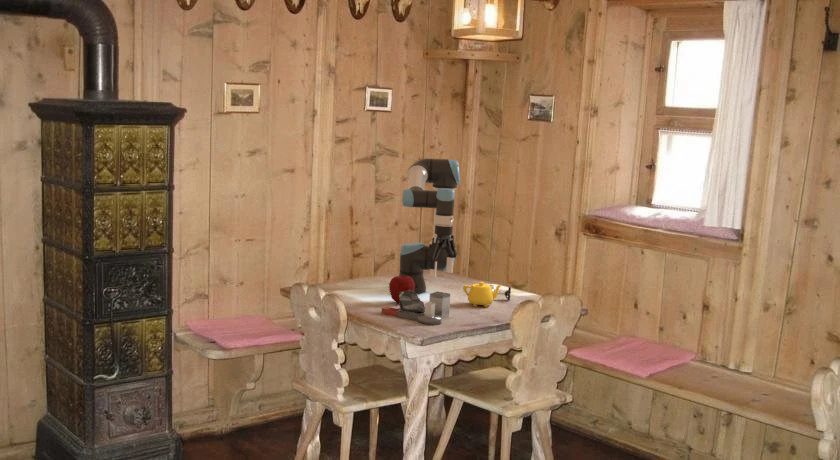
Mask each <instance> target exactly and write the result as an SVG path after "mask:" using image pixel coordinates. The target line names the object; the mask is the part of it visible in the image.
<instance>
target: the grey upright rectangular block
mask: <svg viewBox="0 0 840 460" xmlns="http://www.w3.org/2000/svg"><path fill="white" fill-rule="evenodd" d="M428 300H429V301H428V302H431V303H435V314H437V315H440V316H441V317H442V319H441V320H444V319H446V318H449V317H450V310H451V309H450V307H451V306H450V305H451V293H447V292H442V291H435V292H431V293H429V299H428Z"/></svg>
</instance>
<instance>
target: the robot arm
mask: <svg viewBox="0 0 840 460" xmlns="http://www.w3.org/2000/svg"><path fill="white" fill-rule="evenodd" d="M406 177H407V180H408V184H407V189H406V188H405V189H403V190H402V199H401V203H402V206H403V207H407V208H422V209H424V208H428V209H434V212H433V227H432V228H433V230H432V239H431V241H429V244H428V245H426V244H425V242H421V241H420V242H419V241H418V242H417V241H415V242H408V243H404V244H402V245H401V247H400V251H399V252H400V253H399V271H398V272H399V275H398V276H410V277H411V278H412V279H413V280H414V282H415V288H414V291H415V292H416V294H423V293H425V292H427V284H426V280H425V277H424V271H429V277H432V278H437V271H439V272H440V271H441V272H446V273H448V274H453V272H454V271H453V269H454V264H455V259H456V257H457V247H456V244H455V236H454V235H453V232H454V231H453V230H454V227H453V225H454V224H453V223H454V220H455V219H454V213H455V212H454V211H455V198H456V197H455V196H456V195H455V191H456V190H457V188H458V186H459V185H460V184H461V179H460V177H461V176H460V164H459V162H458V160H456V159H447V158H422V159H419V160H417V161H415V162H414V163H412V164H411V165H410V167H409V168H408V170H407V173H406ZM426 184H432V189H433V190H428V189H425V188H426Z"/></svg>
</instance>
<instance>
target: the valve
mask: <svg viewBox="0 0 840 460" xmlns="http://www.w3.org/2000/svg"><path fill="white" fill-rule="evenodd" d="M489 285H490V286H491V289H492V292H493V293H494V292H495V290H496V289H495V287H494V285H492V284H489ZM511 289H512V287H511V286H508V290H506V291H502V290H501V291H499V290H498V295H499V296H503V295H504V296H505V298H506V299H507V301H508V300H510V301H511V293H512V292H511Z"/></svg>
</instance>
